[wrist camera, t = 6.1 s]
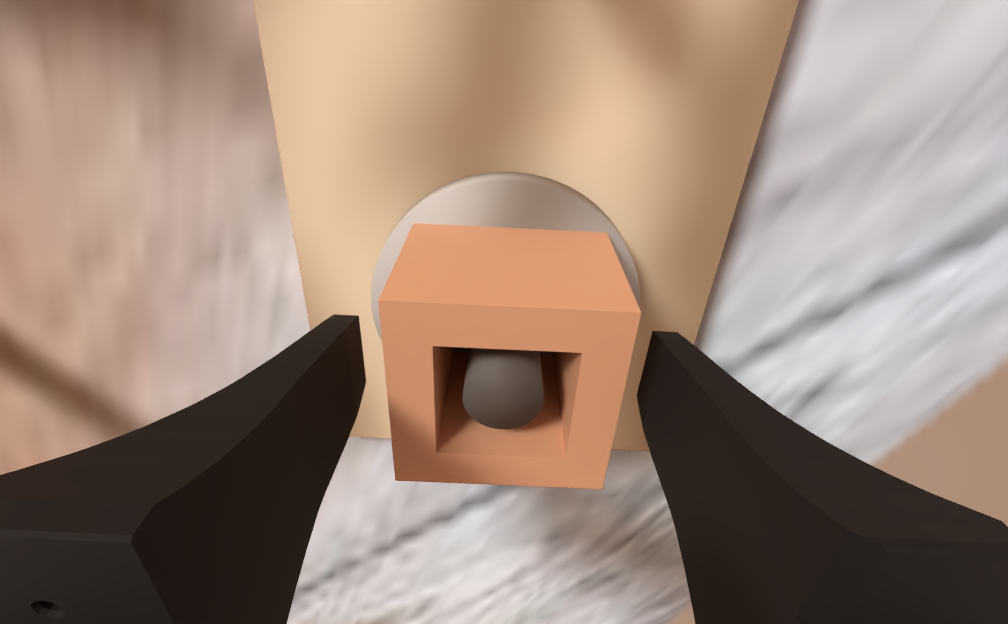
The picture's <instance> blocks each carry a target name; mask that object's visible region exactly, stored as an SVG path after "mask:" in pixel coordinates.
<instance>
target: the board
mask: <svg viewBox="0 0 1008 624" xmlns="http://www.w3.org/2000/svg"><path fill="white" fill-rule="evenodd" d="M253 3H254V9H255V14H256V20H257V26H258V32H259V37H260V43H261V49H262V55H263V60H264V66H265V72H266V78H267V83H268V89H269V95H270V101H271V106H272V112H273V118H274V124H275V129H276V135H277V141H278V147H279V152H280V158H281V164H282V170H283V175H284V181H285V187H286V193H287V199H288V204H289V210H290V216H291V222H292V227H293V233H294V239H295V245H296V250H297V256H298V262H299V268H300V273H301V279H302V285H303V291H304V296H305V302H306V308H307V314H308V319H309V325H310V331H311V330H312V329H314V328H315V327H316V326H318V325H319V324H320V323H322V322H323V321H325V320H326V319H327V318H329V317H330V316H332V315H334V314H337V315H356V316H359V322H360V331H361V340H362V348H363V357H364V366H365V375H366V385H365V389H364V393H363V397H362V401H361V404H360V408H359V412H358V415H357V418H356V421H355V423H354V426H353V428H352V430H351V433H350V435H349V436H351V437H371V438H391V429H390V419H389V408H388V398H387V387H386V377H385V366H384V356H383V346H382V335H381V325H380V314H379V304H378V300H379V297H380V295H381V293H382V291H383V289H384V286H385V284H386V282H387V280H388V278H389V276H390V273H391V271H392V269H393V267H394V265H395V262H396V260H397V258H398V256H399V254H400V252H401V249H402V247H403V245H404V243H405V241H406V238H407V236H408V234H409V232H410V230H411V228H412V225H413V223H421V224H441V225H462V226H483V227H503V228H524V229H544V230H565V231H585V232H606V233H607V234H608V236H609V238H610V241H611V243H612V245H613V248H614V250H615V252H616V255H617V257H618V259H619V262H620V264H621V266H622V269H623V271H624V273H625V276H626V278H627V280H628V283H629V285H630V287H631V290H632V292H633V294H634V297H635V299H636V301H637V304H638V306H639V308H640V311H641V316H640V321H639V325H638V330H637V334H636V339H635V343H634V348H633V353H632V357H631V362H630V366H629V371H628V375H627V380H626V384H625V389H624V393H623V398H622V402H621V407H620V412H619V416H618V421H617V425H616V430H615V434H614V439H613V443H612V448H611V449H618V450H639V451H650V450H649V447H648V444H647V441H646V438H645V435H644V432H643V427H642V422H641V417H640V412H639V406H638V401H637V391H638V387H639V383H640V379H641V375H642V371H643V367H644V363H645V359H646V355H647V351H648V347H649V343H650V339H651V335H652V331H665V332H678V333H679V334H680V335H682V336H683V337H684V338H686V339H687V340H688V341H689V342H691V343H692V344H693V345H694V343H695V340H696V337H697V334H698V330H699V327H700V324H701V320H702V317H703V314H704V311H705V307H706V304H707V301H708V297H709V294H710V291H711V288H712V284H713V281H714V278H715V275H716V271H717V268H718V265H719V261H720V258H721V255H722V252H723V248H724V245H725V242H726V239H727V235H728V232H729V229H730V225H731V222H732V219H733V216H734V212H735V209H736V206H737V202H738V199H739V196H740V193H741V189H742V186H743V183H744V180H745V176H746V173H747V170H748V166H749V163H750V160H751V157H752V153H753V150H754V147H755V144H756V140H757V137H758V134H759V130H760V127H761V124H762V121H763V117H764V114H765V111H766V107H767V104H768V101H769V98H770V94H771V91H772V88H773V85H774V81H775V78H776V75H777V71H778V68H779V65H780V62H781V58H782V55H783V52H784V49H785V45H786V42H787V39H788V35H789V32H790V29H791V26H792V22H793V19H794V16H795V12H796V9H797V6H798V3H799V0H253ZM453 351H455V352H468V358H467V366H466V373H465V381H464V389H463V404H464V407H465V409H466V411H467V413H468V414H469V415H470V416H471V417H472V418H473V419H474V420H475V421H477V422H478V423H480V424H482V425H484V426H487V427H490V428H494V429H513V428H518V427H521V426H523V425H526V424H527V423H529V422H531V421H532V420H533V419H534V418H535V417H536V416H537V415H538V414H539V413H540V411H541V409H542V407H543V403H544V393H543V381H542V369H541V357H540V355H544V356H553V355H554V352H551V351H529V350H507V349H485V348H463V347H453Z"/></svg>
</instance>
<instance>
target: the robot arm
mask: <svg viewBox="0 0 1008 624" xmlns="http://www.w3.org/2000/svg"><path fill="white" fill-rule="evenodd" d="M365 385H366V375H365V366H364V357H363V348H362V340H361V331H360V322H359V316H356V315H337V314H334V315H332V316H330V317H329V318H327V319H326V320H325V321H323V322H322V323H320V324H319V325H318V326H316V327H315V328H314V329H312V330H311V331H309V332H308V333H307V334H305V335H304V336H303V337H301V338H300V339H299V340H297V341H296V342H294V343H293V344H292V345H290V346H289V347H287V348H286V349H285V350H283V351H282V352H280V353H279V354H278V355H276V356H275V357H273V358H272V359H270V360H269V361H267V362H265V363H264V364H262V365H261V366H259V367H258V368H256V369H255V370H253V371H252V372H250V373H248V374H247V375H245V376H244V377H242V378H241V379H239V380H237V381H236V382H234V383H232V384H231V385H229V386H227V387H225V388H223V389H222V390H220V391H218V392H216V393H214V394H212V395H210V396H209V397H207V398H205V399H203V400H201V401H199V402H197V403H195V404H193V405H191V406H189V407H187V408H185V409H182V410H180V411H178V412H176V413H174V414H171V415H169V416H167V417H165V418H163V419H160V420H158V421H156V422H154V423H151V424H149V425H147V426H145V427H142V428H140V429H137V430H135V431H132V432H130V433H127V434H125V435H122V436H119V437H117V438H114V439H112V440H109V441H106V442H103V443H100V444H98V445H95V446H92V447H89V448H87V449H84V450H81V451H78V452H75V453H72V454H69V455H66V456H62V457H59V458H56V459H52V460H49V461H46V462H43V463H39V464H36V465H33V466H30V467H26V468H23V469H20V470H17V471H13V472H10V473H6V474H3V475H0V624H286V623H287V620H288V616H289V612H290V608H291V604H292V600H293V596H294V593H295V589H296V585H297V582H298V578H299V575H300V571H301V568H302V564H303V560H304V557H305V553H306V550H307V547H308V543H309V540H310V537H311V533H312V530H313V527H314V523H315V520H316V517H317V514H318V511H319V508H320V505H321V503H322V500H323V497H324V494H325V492H326V490H327V487H328V485H329V483H330V480H331V478H332V475H333V473H334V471H335V468H336V466H337V464H338V461H339V459H340V457H341V454H342V452H343V450H344V447H345V445H346V442H347V440H348V438H349V435H350V433H351V430H352V428H353V426H354V423H355V421H356V418H357V415H358V412H359V408H360V404H361V401H362V397H363V393H364V389H365ZM637 401H638V406H639V412H640V417H641V422H642V427H643V432H644V435H645V438H646V441H647V444H648V447H649V450H650V453H651V456H652V459H653V462H654V465H655V467H656V470H657V473H658V476H659V479H660V482H661V485H662V488H663V491H664V494H665V497H666V499H667V502H668V505H669V508H670V511H671V515H672V518H673V522H674V525H675V528H676V533H677V537H678V541H679V546H680V550H681V555H682V559H683V564H684V568H685V573H686V578H687V583H688V588H689V592H690V597H691V602H692V607H693V612H694V618H695V623H696V624H1008V527H1007V526H1006V525H1005V524H1004V523H1003V522H1002V521H1000V520H997V519H995V518H992V517H990V516H987V515H985V514H982V513H980V512H977V511H975V510H972V509H970V508H967V507H965V506H962V505H959V504H957V503H954V502H952V501H949V500H946V499H944V498H942V497H939V496H937V495H934V494H932V493H929V492H927V491H925V490H923V489H920V488H918V487H916V486H914V485H912V484H909V483H907V482H905V481H903V480H900V479H898V478H896V477H894V476H892V475H890V474H887V473H885V472H883V471H881V470H879V469H877V468H875V467H873V466H871V465H869V464H867V463H865V462H863V461H861V460H859V459H858V458H856V457H854V456H852V455H850V454H848V453H846V452H844V451H843V450H841V449H839V448H837V447H835V446H833V445H831V444H830V443H828V442H826V441H825V440H823V439H821V438H819V437H818V436H816V435H814V434H813V433H811V432H809V431H808V430H806V429H805V428H803V427H801V426H800V425H798V424H797V423H795V422H793V421H792V420H790V419H789V418H787V417H786V416H784V415H783V414H781V413H780V412H778V411H777V410H775V409H774V408H772V407H771V406H770V405H768V404H767V403H766V402H764V401H763V400H762V399H760V398H759V397H757V396H756V395H755V394H753V393H752V392H751V391H749V390H748V389H747V388H745V387H744V386H743V385H742V384H740V383H739V382H738V381H736V380H735V379H734V378H733V377H731V376H730V375H729V374H728V373H727V372H725V371H724V370H723V369H722V368H721V367H719V366H718V365H717V364H716V363H715V362H713V361H712V360H711V359H710V358H709V357H707V356H706V355H705V354H704V353H703V352H701V351H700V350H699V349H698V348H697V347H695V346H694V345H693V344H692V343H691V342H689V341H688V340H687V339H686V338H684V337H683V336H682V335H680V334H679V333H678V332H665V331H652V335H651V339H650V343H649V347H648V351H647V355H646V359H645V363H644V367H643V371H642V375H641V379H640V383H639V387H638V391H637Z"/></svg>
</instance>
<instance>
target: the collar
mask: <svg viewBox="0 0 1008 624" xmlns="http://www.w3.org/2000/svg"><path fill="white" fill-rule="evenodd" d="M378 304H379V314H380V325H381V335H382V346H383V356H384V366H385V377H386V387H387V398H388V408H389V419H390V429H391V439H392V450H393V460H394V471H395V480H397V481H421V482H445V483H469V484H492V485H516V486H540V487H564V488H588V489H603V484H604V480H605V475H606V471H607V466H608V461H609V457H610V452H611V448H612V443H613V439H614V434H615V430H616V425H617V421H618V416H619V412H620V407H621V402H622V398H623V393H624V389H625V384H626V380H627V375H628V371H629V366H630V362H631V357H632V353H633V348H634V343H635V339H636V334H637V330H638V325H639V321H640V316H641V311H640V308H639V306H638V304H637V301H636V299H635V297H634V294H633V292H632V290H631V287H630V285H629V283H628V280H627V278H626V276H625V273H624V271H623V269H622V266H621V264H620V262H619V259H618V257H617V255H616V252H615V250H614V248H613V245H612V243H611V241H610V238H609V236H608V234H607V233H606V232H585V231H565V230H544V229H524V228H503V227H483V226H462V225H441V224H421V223H413V225H412V228H411V230H410V232H409V234H408V236H407V238H406V241H405V243H404V245H403V247H402V249H401V252H400V254H399V256H398V258H397V260H396V262H395V265H394V267H393V269H392V271H391V273H390V276H389V278H388V280H387V282H386V284H385V286H384V289H383V291H382V293H381V295H380V297H379V300H378ZM453 347H463V348H485V349H507V350H529V351H551V352H554V355H553V356H544V355H540V357H541V369H542V381H543V393H544V403H543V407H542V409H541V411H540V413H539V414H538V415H537V416H536V417H535V418H534V419H533V420H532V421H531V422H529V423H527V424H526V425H523V426H521V427H518V428H513V429H494V428H490V427H487V426H484V425H482V424H480V423H478V422H477V421H475V420H474V419H473V418H472V417H471V416H470V415H469V414H468V413H467V411H466V409H465V407H464V404H463V389H464V381H465V373H466V366H467V358H468V352H455V351H453Z"/></svg>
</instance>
